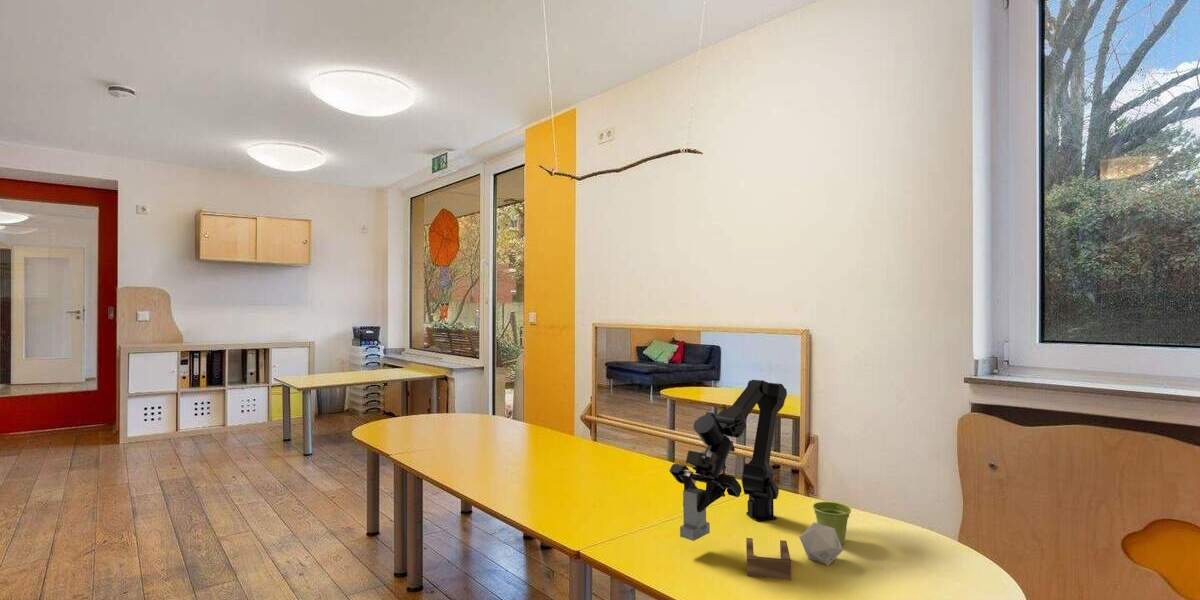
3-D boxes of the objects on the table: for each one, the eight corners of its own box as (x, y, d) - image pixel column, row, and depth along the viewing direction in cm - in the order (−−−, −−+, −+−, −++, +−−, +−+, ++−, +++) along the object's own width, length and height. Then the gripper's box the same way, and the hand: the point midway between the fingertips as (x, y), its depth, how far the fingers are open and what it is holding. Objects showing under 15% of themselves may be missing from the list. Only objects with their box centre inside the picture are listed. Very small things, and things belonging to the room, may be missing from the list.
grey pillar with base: (696, 528, 150) (695, 485, 150) (709, 532, 147) (709, 488, 147) (680, 536, 145) (679, 492, 145) (693, 541, 142) (692, 495, 142)
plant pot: (857, 540, 153) (856, 506, 153) (843, 551, 146) (843, 516, 146) (821, 531, 159) (821, 499, 159) (806, 541, 152) (806, 508, 152)
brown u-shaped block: (746, 554, 145) (746, 537, 145) (786, 557, 143) (786, 540, 143) (747, 576, 133) (747, 558, 133) (791, 580, 131) (791, 562, 131)
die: (811, 572, 136) (839, 541, 134) (786, 541, 143) (812, 511, 141) (829, 575, 141) (856, 545, 139) (804, 545, 148) (829, 516, 146)
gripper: (672, 432, 156) (647, 483, 148) (734, 443, 143) (710, 500, 135) (690, 456, 161) (666, 507, 153) (751, 468, 148) (729, 525, 140)
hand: (691, 509), depth 145 cm, fingers closed on grey pillar with base, 4 cm apart
